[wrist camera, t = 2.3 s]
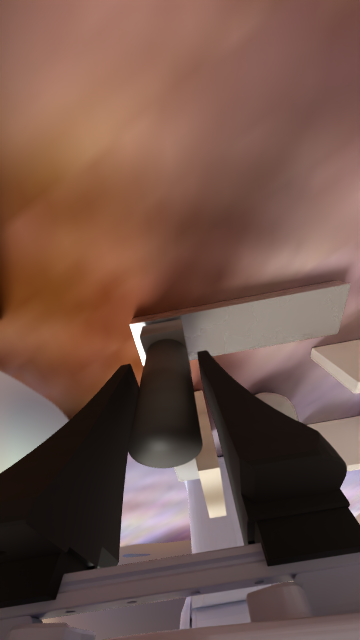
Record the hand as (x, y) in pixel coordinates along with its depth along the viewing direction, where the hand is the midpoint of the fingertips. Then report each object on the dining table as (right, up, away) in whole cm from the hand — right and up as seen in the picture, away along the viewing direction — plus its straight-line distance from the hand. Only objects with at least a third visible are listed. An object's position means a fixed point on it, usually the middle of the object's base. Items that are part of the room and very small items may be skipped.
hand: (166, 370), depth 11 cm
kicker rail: (+6, +3, +4) cm, 8 cm away
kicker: (+1, -4, +7) cm, 8 cm away
